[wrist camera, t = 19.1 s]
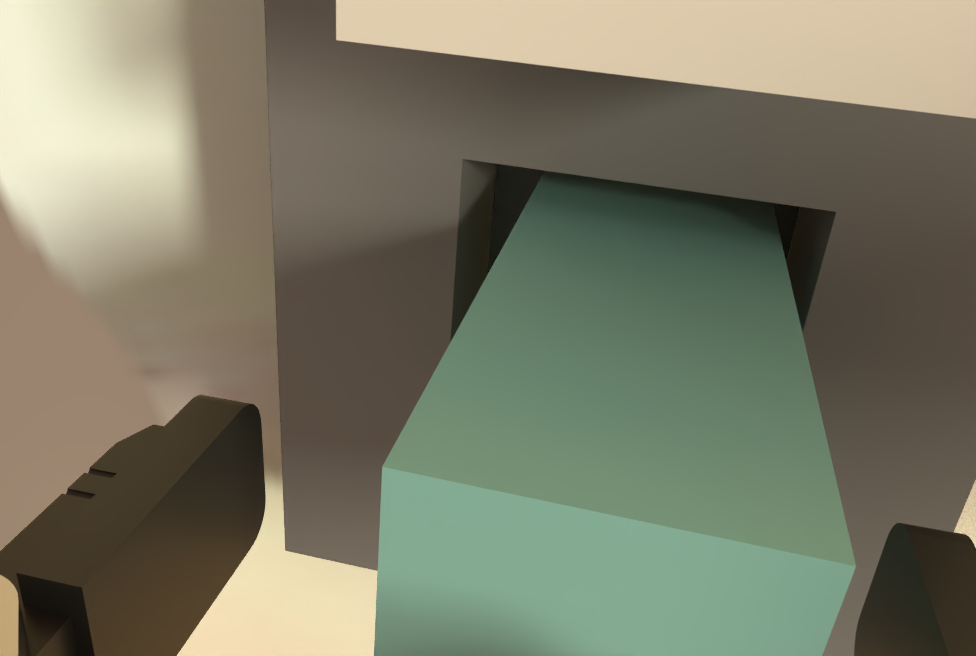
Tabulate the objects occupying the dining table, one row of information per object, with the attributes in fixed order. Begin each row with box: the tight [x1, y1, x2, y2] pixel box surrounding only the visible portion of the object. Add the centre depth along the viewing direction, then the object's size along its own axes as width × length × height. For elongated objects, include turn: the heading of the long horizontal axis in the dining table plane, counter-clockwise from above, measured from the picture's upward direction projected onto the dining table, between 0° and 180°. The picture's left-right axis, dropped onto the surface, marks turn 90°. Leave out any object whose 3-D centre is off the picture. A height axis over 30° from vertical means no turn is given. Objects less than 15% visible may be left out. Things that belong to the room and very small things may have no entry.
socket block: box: [264, 0, 976, 656], centre depth 14 cm, size 18×12×3 cm, turn 175°
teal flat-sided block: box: [374, 171, 856, 656], centre depth 13 cm, size 4×4×10 cm
